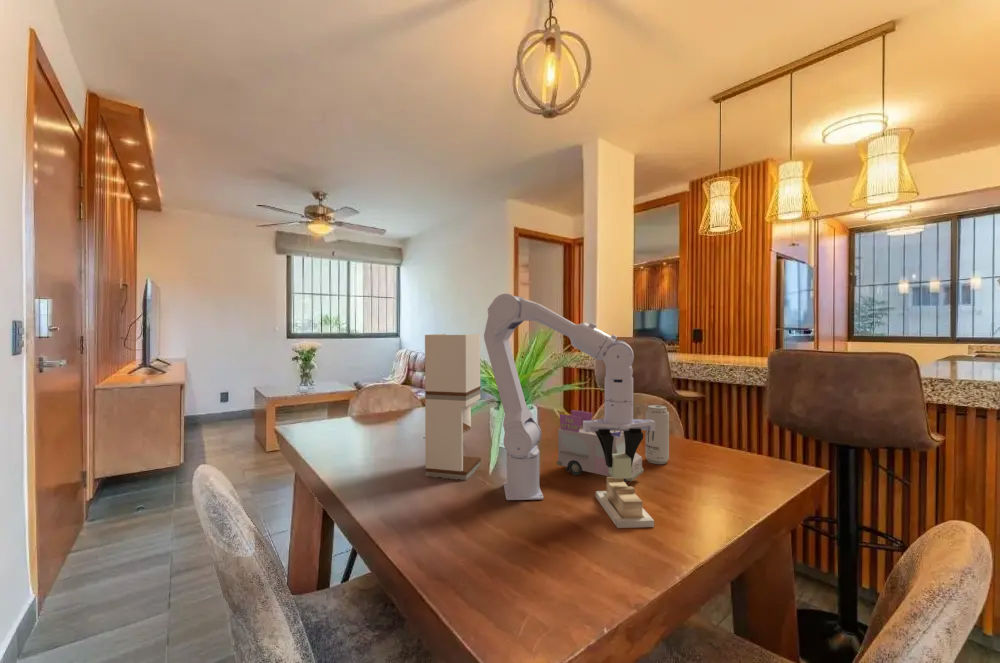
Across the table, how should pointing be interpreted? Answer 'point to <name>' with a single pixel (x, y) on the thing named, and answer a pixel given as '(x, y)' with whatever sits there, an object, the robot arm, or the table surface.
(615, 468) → the block
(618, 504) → the tan stepped block
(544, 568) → the table surface
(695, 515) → the table surface
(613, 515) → the jig
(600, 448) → the toy vehicle
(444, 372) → the beige tall block
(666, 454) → the energy drink can
